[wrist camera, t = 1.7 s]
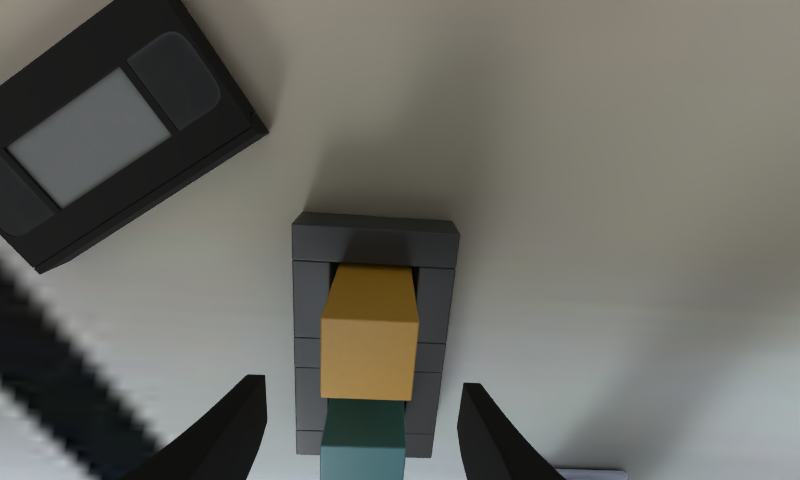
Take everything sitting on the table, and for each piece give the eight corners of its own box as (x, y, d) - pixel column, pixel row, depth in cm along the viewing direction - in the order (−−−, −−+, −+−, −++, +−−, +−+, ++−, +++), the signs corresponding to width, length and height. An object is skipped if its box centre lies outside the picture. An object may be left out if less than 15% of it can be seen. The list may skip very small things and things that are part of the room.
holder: (427, 427, 26) (431, 458, 24) (304, 423, 26) (296, 454, 23) (452, 220, 21) (460, 233, 19) (302, 211, 21) (291, 223, 19)
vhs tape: (-39, 146, 19) (-85, 149, 17) (174, -11, 17) (148, -26, 15) (70, 260, 21) (39, 274, 20) (270, 132, 20) (257, 134, 18)
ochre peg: (404, 314, 23) (411, 401, 16) (341, 311, 23) (320, 398, 16) (409, 255, 22) (419, 322, 15) (342, 252, 22) (320, 317, 15)
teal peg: (396, 399, 25) (400, 509, 18) (338, 397, 25) (319, 508, 18) (401, 350, 24) (406, 448, 17) (340, 348, 24) (320, 446, 17)
